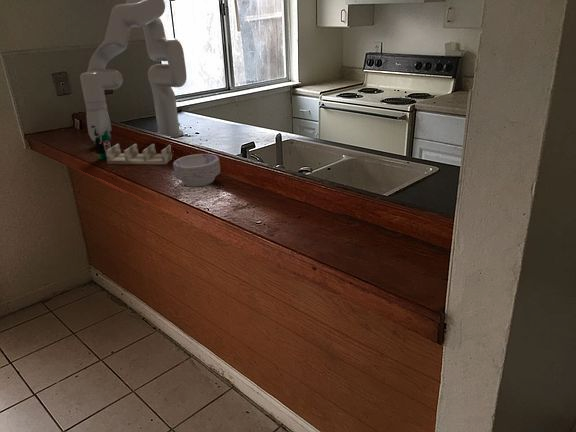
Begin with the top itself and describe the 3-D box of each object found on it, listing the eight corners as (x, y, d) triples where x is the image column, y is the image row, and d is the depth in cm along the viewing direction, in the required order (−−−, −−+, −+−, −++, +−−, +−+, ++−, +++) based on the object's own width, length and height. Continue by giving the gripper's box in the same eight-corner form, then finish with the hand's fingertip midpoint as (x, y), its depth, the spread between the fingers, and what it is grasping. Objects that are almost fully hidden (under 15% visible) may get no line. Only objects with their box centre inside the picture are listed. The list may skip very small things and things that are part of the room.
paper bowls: (166, 183, 167) (163, 161, 164) (203, 172, 177) (201, 150, 174) (193, 193, 157) (190, 169, 154) (230, 181, 167) (228, 158, 164)
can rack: (118, 156, 200) (116, 143, 198) (174, 156, 197) (173, 143, 195) (107, 163, 191) (104, 150, 189) (165, 164, 188) (163, 150, 186)
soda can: (104, 160, 195) (98, 130, 191) (97, 158, 198) (91, 129, 193) (115, 157, 199) (110, 127, 194) (108, 155, 202) (102, 126, 197)
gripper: (98, 101, 199) (106, 145, 206) (75, 110, 183) (85, 157, 190) (115, 101, 197) (123, 145, 205) (94, 110, 182) (103, 157, 189)
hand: (104, 150), depth 197 cm, fingers open, 5 cm apart
